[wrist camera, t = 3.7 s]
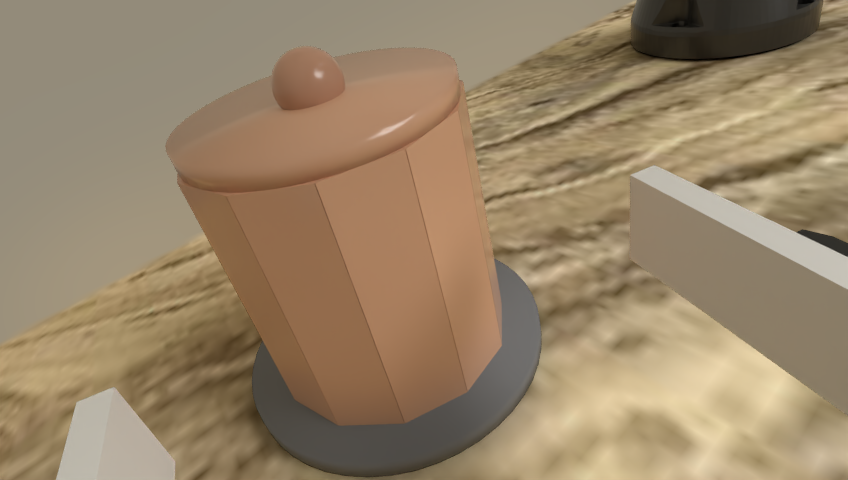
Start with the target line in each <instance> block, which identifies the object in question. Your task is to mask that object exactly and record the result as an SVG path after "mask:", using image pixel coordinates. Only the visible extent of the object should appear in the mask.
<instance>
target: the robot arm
mask: <svg viewBox="0 0 848 480" xmlns="http://www.w3.org/2000/svg"><path fill="white" fill-rule="evenodd" d="M822 6H823V0H637V2H636V5H635V8H634V11H633V14H632V18H631V45H632V46H633V47H634V48H635V49H636V50H638V51H640V52H643V53H646V54H649V55H653V56H659V57H666V58H679V59H708V58H722V57H732V56H740V55H747V54H753V53H758V52H763V51H768V50H772V49H776V48H780V47H783V46H786V45H789V44H792V43H795V42H797V41H800V40H802V39H804V38H806V37H808V36H809V35H811V34H812V33H814V32H815V31H816V30H817V28H818V26H819V22H820V16H821V11H822ZM630 259H631V260H632V261H634V262H635V263H636V264H638V265H639V266H640V267H642V268H643V269H645V270H646V271H647V272H649V273H650V274H652V275H653V276H654V277H656V278H657V279H659V280H660V281H661V282H663V283H664V284H665V285H667V286H668V287H670V288H671V289H672V290H674V291H675V292H677V293H678V294H679V295H681V296H682V297H684V298H685V299H686V300H688V301H689V302H690V303H692V304H693V305H695V306H696V307H697V308H699V309H700V310H702V311H703V312H704V313H706V314H707V315H709V316H710V317H711V318H713V319H714V320H715V321H717V322H718V323H720V324H721V325H722V326H724V327H725V328H727V329H728V330H729V331H731V332H732V333H734V334H735V335H736V336H738V337H739V338H740V339H742V340H743V341H745V342H746V343H747V344H749V345H750V346H752V347H753V348H754V349H756V350H757V351H759V352H760V353H761V354H763V355H764V356H765V357H767V358H768V359H770V360H771V361H772V362H774V363H775V364H777V365H778V366H779V367H781V368H782V369H783V370H785V371H786V372H788V373H789V374H790V375H792V376H793V377H795V378H796V379H797V380H799V381H800V382H802V383H803V384H804V385H806V386H807V387H808V388H810V389H811V390H813V391H814V392H815V393H817V394H818V395H820V396H821V397H822V398H824V399H825V400H827V401H828V402H829V403H831V404H832V405H833V406H835V407H836V408H838V409H839V410H840V411H842V412H843V413H845V414H846V415H847V416H848V243H846V242H844V241H841V240H839V239H837V238H835V237H832V236H828V235H824V234H820V233H815V232H811V231H807V230H803V229H802V230H800V231H798V232H794V231H792V230H790V229H788V228H786V227H783V226H781V225H779V224H777V223H775V222H773V221H771V220H769V219H767V218H765V217H762V216H760V215H758V214H756V213H754V212H752V211H750V210H748V209H746V208H744V207H741V206H739V205H737V204H735V203H733V202H731V201H729V200H727V199H725V198H723V197H720V196H718V195H716V194H714V193H712V192H710V191H708V190H706V189H704V188H702V187H699V186H697V185H695V184H693V183H691V182H689V181H687V180H685V179H683V178H681V177H678V176H676V175H674V174H672V173H670V172H668V171H666V170H664V169H662V168H660V167H657V166H655V165H653V166H651V167H648V168H646V169H644V170H641V171H639V172H636V173H634V174H631V175H630ZM56 480H175V460H174V459H173V458H172V457H171V455H170V454H169V453H168V452H167V451H166V449H165V448H164V447H163V446H162V445H161V443H160V442H159V441H158V440H157V438H156V437H155V436H154V435H153V434H152V432H151V431H150V430H149V429H148V427H147V426H146V425H145V424H144V423H143V421H142V420H141V419H140V418H139V416H138V415H137V414H136V413H135V412H134V410H133V409H132V408H131V407H130V406H129V404H128V403H127V402H126V401H125V399H124V398H123V397H122V396H121V395H120V393H119V392H118V391H117V390H116V388H115V387H112V388H110V389H107V390H105V391H103V392H100V393H98V394H95V395H93V396H90V397H88V398H85V399H83V400H81V401H78V402H77V403H76V407H75V410H74V414H73V418H72V422H71V425H70V429H69V433H68V437H67V440H66V444H65V448H64V452H63V455H62V459H61V463H60V467H59V470H58V474H57V478H56Z"/></svg>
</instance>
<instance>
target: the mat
mask: <svg viewBox="0 0 848 480" xmlns="http://www.w3.org/2000/svg"><path fill="white" fill-rule="evenodd" d="M494 262H495V267H496V273H497V279H498V284H499V290H500V296H501V302H502V346H501V347H500V349H499V350H498V351H497V353H496V354H495V356H494V357H493V358H492V360H491V361H490V362H489V364H488V365H487V366H486V368H485V369H484V370H483V372H482V373H481V374H480V376H479V377H478V378H477V380H476V381H475V383H474V384H473V385H472V387H471V388H470V389H469V391H468V392H467V393H465V394H463V395H461V396H459V397H457V398H455V399H453V400H451V401H449V402H447V403H445V404H443V405H441V406H439V407H437V408H435V409H433V410H431V411H429V412H427V413H425V414H423V415H421V416H419V417H417V418H415V419H413V420H411V421H409V422H407V423H405V424H377V425H345V426H339V425H336V424H335V423H333V422H331V421H330V420H328V419H326V418H325V417H323V416H321V415H320V414H318V413H316V412H315V411H313V410H311V409H310V408H308V407H306V406H304V405H303V404H301V403H299V402H298V401H296V400H295V399H294V397H293V396H292V394H291V392H290V390H289V388H288V386H287V385H286V383H285V381H284V379H283V377H282V375H281V373H280V372H279V370H278V368H277V366H276V364H275V362H274V361H273V359H272V357H271V355H270V353H269V351H268V349H267V348H266V346H265V344H264V342H263V341H262V343H261V345H260V348H259V350H258V352H257V355H256V359H255V363H254V367H253V376H252V389H253V397H254V401H255V404H256V408H257V410H258V412H259V414H260V416H261V418H262V420H263V422H264V423H265V425H266V427H267V428H268V430H269V432H270V433H271V435H272V436H273V437H274V438H275V440H276V441H277V442H278V443H279V445H280V446H281V447H283V448H284V449H285V450H286V451H287V452H288V453H290V454H291V455H292V456H293V457H295V458H297V459H299V460H300V461H302V462H304V463H306V464H307V465H309V466H312V467H315V468H318V469H320V470H323V471H326V472H330V473H335V474H340V475H345V476H360V477H375V476H389V475H395V474H400V473H405V472H410V471H415V470H418V469H421V468H424V467H427V466H430V465H434V464H437V463H439V462H441V461H443V460H446V459H448V458H450V457H452V456H454V455H456V454H459V453H460V452H462V451H464V450H465V449H467V448H469V447H470V446H472V445H474V444H475V443H477V442H478V441H480V440H481V439H482V438H484V437H485V436H486V435H488V434H489V433H490V432H491V431H493V430H494V429H495V428H496V427H497V426H498V425H499V424H500V423H501V422H502V421H503V420H504V419H505V418H506V417H507V416H508V415H509V414H510V413H511V412H512V411H513V410H514V408H515V407H516V406H517V404H518V403H519V402H520V400H521V399H522V398H523V396H524V395H525V393H526V391H527V389H528V387H529V386H530V384H531V382H532V380H533V378H534V375H535V372H536V369H537V366H538V364H539V358H540V353H541V327H540V320H539V314H538V309H537V305H536V303H535V300H534V297H533V295H532V293H531V292H530V290H529V288H528V287H527V285H526V284H525V282H524V281H523V280H522V279H521V278H520V277H519V276H518V275H517V274H516V273H515V272H514V271H513V270H511V269H510V268H509V267H508V266H506V265H505V264H503V263H501V262H500V261H498V260H496V259H494Z"/></svg>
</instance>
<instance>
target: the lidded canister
mask: <svg viewBox="0 0 848 480" xmlns="http://www.w3.org/2000/svg"><path fill="white" fill-rule="evenodd" d="M166 152H167V154H168V156H169V158H170V160H171V162H172V163H173V165H174V167H175V169H176V171H177V173H178V174H177V175H178V176H177V177H178V179H177V180H178V181H177V183H178V185H179V187H180V189H181V191H182V193H183V194H184V196H185V198H186V200H187V202H188V203H189V205H190V207H191V209H192V211H193V213H194V215H195V216H196V218H197V220H198V222H199V224H200V226H201V228H202V229H203V231H204V233H205V235H206V237H207V239H208V241H209V242H210V244H211V246H212V248H213V250H214V252H215V253H216V255H217V257H218V259H219V261H220V263H221V265H222V266H223V268H224V270H225V272H226V274H227V276H228V277H229V279H230V281H231V283H232V285H233V287H234V289H235V290H236V292H237V294H238V296H239V298H240V300H241V301H242V303H243V305H244V307H245V309H246V311H247V313H248V314H249V316H250V318H251V320H252V322H253V324H254V325H255V327H256V329H257V331H258V333H259V335H260V337H261V338H262V340H263V342H264V344H265V346H266V348H267V349H268V351H269V353H270V355H271V357H272V359H273V361H274V362H275V364H276V366H277V368H278V370H279V372H280V373H281V375H282V377H283V379H284V381H285V383H286V385H287V386H288V388H289V390H290V392H291V394H292V396H293V397H294V399H295V400H296V401H298V402H299V403H301V404H303V405H304V406H306V407H308V408H310V409H311V410H313V411H315V412H316V413H318V414H320V415H321V416H323V417H325V418H326V419H328V420H330V421H331V422H333V423H335V424H336V425H339V426H345V425H377V424H405V423H407V422H409V421H411V420H413V419H415V418H417V417H419V416H421V415H423V414H425V413H427V412H429V411H431V410H433V409H435V408H437V407H439V406H441V405H443V404H445V403H447V402H449V401H451V400H453V399H455V398H457V397H459V396H461V395H463V394H465V393H467V392H468V391H469V389H470V388H471V387H472V385H473V384H474V383H475V381H476V380H477V378H478V377H479V376H480V374H481V373H482V372H483V370H484V369H485V368H486V366H487V365H488V364H489V362H490V361H491V360H492V358H493V357H494V356H495V354H496V353H497V351H498V350H499V349H500V347H501V346H502V302H501V296H500V290H499V284H498V279H497V273H496V267H495V262H494V256H493V250H492V244H491V239H490V233H489V227H488V221H487V216H486V210H485V204H484V199H483V193H482V187H481V181H480V176H479V170H478V164H477V158H476V153H475V147H474V141H473V136H472V130H471V124H470V118H469V113H468V107H467V101H466V95H465V90H464V84H463V81H461V80H459V76H458V70H457V65H456V62H455V60H454V59H453V58H452V57H451V56H450V55H448V54H446V53H444V52H440V51H437V50H433V49H426V48H388V49H378V50H370V51H363V52H357V53H352V54H347V55H342V56H338V57H332V56H331V55H329V54H328V53H327V52H325V51H323V50H321V49H319V48H315V47H311V46H301V47H296V48H293V49H291V50H289V51H287V52H286V53H284V54H283V55H282V56H281V57H280V58H279V59H278V61H277V62H276V64H275V66H274V68H273V71H272V75H271V76H269V77H266V78H263V79H261V80H258V81H255V82H253V83H251V84H248V85H246V86H243V87H241V88H239V89H237V90H235V91H233V92H230V93H229V94H226V95H224V96H222V97H220V98H218V99H216V100H215V101H213V102H211V103H209V104H208V105H206V106H204V107H203V108H201V109H199V110H198V111H196V112H195V113H193V114H192V115H191V116H189V117H188V118H187V119H185V120H184V121H183V122H182V123H181V124H180V125H178V126H177V127H176V128H175V130H174V131H173V132H172V133H171V134H170V136H169V138H168V140H167V143H166Z"/></svg>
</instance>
